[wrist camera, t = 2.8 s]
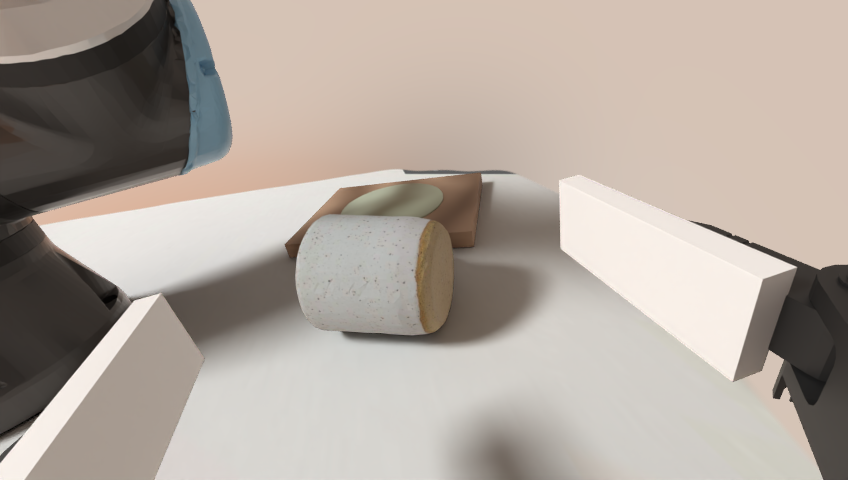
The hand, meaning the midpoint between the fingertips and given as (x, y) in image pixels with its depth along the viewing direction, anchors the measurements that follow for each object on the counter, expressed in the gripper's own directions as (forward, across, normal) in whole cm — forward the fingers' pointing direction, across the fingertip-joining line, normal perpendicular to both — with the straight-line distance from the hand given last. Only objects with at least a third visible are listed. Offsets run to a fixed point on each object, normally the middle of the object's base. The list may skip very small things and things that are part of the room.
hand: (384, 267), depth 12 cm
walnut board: (+26, +2, -9) cm, 27 cm away
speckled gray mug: (+11, 0, -10) cm, 15 cm away
